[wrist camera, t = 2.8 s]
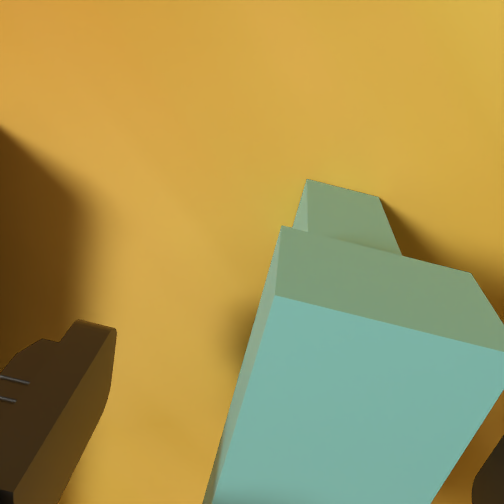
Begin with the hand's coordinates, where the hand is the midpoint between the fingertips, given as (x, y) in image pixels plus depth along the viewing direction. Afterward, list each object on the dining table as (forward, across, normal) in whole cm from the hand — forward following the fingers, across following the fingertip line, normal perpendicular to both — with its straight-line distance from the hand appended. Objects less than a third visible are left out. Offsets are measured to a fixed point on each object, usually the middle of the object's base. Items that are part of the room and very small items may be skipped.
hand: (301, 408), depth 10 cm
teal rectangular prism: (+4, 0, 0) cm, 4 cm away
